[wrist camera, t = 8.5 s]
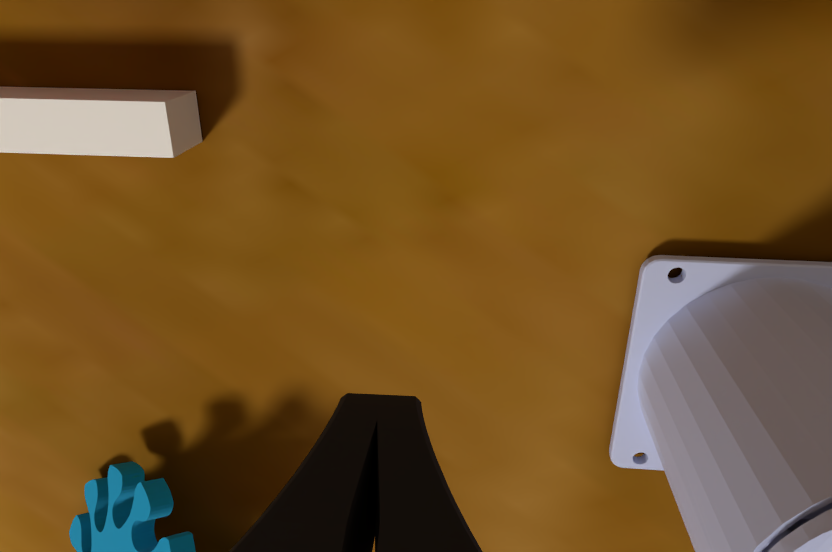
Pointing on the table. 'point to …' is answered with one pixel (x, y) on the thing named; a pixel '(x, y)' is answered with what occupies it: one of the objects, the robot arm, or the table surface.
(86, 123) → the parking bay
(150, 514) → the gear
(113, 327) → the table surface
